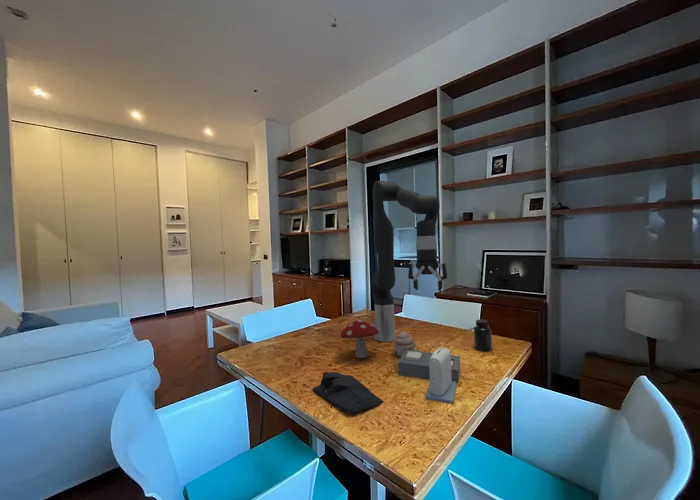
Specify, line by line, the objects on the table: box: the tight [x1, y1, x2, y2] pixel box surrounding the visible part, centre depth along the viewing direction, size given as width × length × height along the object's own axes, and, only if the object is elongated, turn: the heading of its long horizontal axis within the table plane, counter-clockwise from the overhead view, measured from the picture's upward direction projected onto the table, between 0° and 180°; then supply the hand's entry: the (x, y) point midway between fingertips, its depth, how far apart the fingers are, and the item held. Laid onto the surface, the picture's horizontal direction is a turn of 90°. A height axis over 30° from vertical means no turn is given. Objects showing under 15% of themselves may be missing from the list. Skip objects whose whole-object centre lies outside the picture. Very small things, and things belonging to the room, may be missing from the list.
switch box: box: [397, 349, 461, 385], centre depth 105 cm, size 20×12×5 cm, turn 66°
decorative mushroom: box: [339, 319, 379, 359], centre depth 122 cm, size 16×16×15 cm
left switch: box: [406, 351, 422, 361], centre depth 108 cm, size 5×5×2 cm
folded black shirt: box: [312, 371, 384, 414], centre depth 92 cm, size 15×22×5 cm
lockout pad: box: [425, 381, 457, 404], centre depth 92 cm, size 8×12×1 cm, turn 156°
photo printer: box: [429, 347, 452, 396], centre depth 92 cm, size 10×4×12 cm, turn 142°
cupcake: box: [392, 330, 417, 358], centre depth 121 cm, size 9×9×10 cm
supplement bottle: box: [473, 319, 493, 352], centre depth 124 cm, size 7×7×12 cm
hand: (427, 290), depth 112 cm, fingers open, 8 cm apart
